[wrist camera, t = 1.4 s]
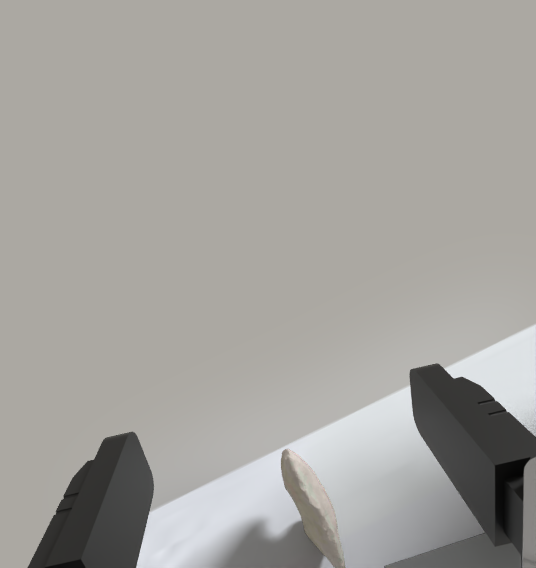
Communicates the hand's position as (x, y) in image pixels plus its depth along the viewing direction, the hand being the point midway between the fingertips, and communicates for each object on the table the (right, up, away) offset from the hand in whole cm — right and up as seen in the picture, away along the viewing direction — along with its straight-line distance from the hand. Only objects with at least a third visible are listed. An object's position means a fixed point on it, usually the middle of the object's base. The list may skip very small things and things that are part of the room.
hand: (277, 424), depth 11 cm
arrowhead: (+4, -15, +17) cm, 23 cm away
